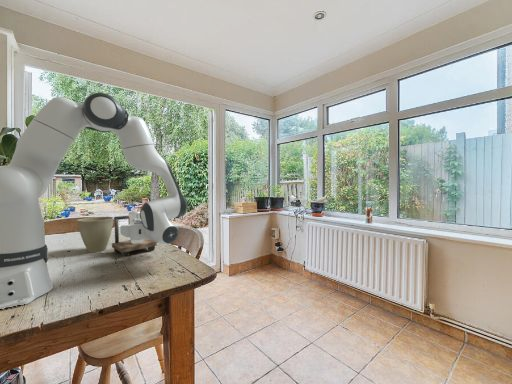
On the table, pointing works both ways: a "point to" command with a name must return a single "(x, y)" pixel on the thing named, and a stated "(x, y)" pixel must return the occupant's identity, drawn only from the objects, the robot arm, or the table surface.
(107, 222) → the plant pot
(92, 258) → the table surface
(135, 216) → the beer glass
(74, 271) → the table surface
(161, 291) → the table surface
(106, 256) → the table surface
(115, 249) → the dolly
